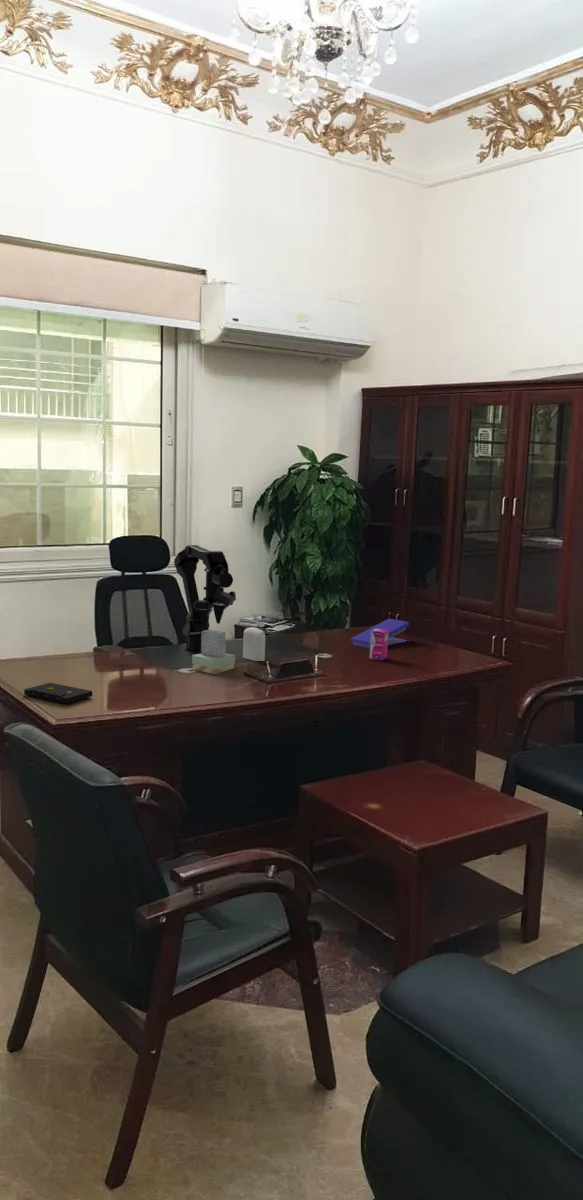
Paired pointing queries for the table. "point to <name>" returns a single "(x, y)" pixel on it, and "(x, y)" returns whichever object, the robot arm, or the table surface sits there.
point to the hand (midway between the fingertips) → (212, 625)
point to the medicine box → (213, 643)
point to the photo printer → (254, 644)
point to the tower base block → (212, 670)
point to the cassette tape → (57, 693)
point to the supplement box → (379, 644)
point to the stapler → (389, 624)
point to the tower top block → (213, 660)
